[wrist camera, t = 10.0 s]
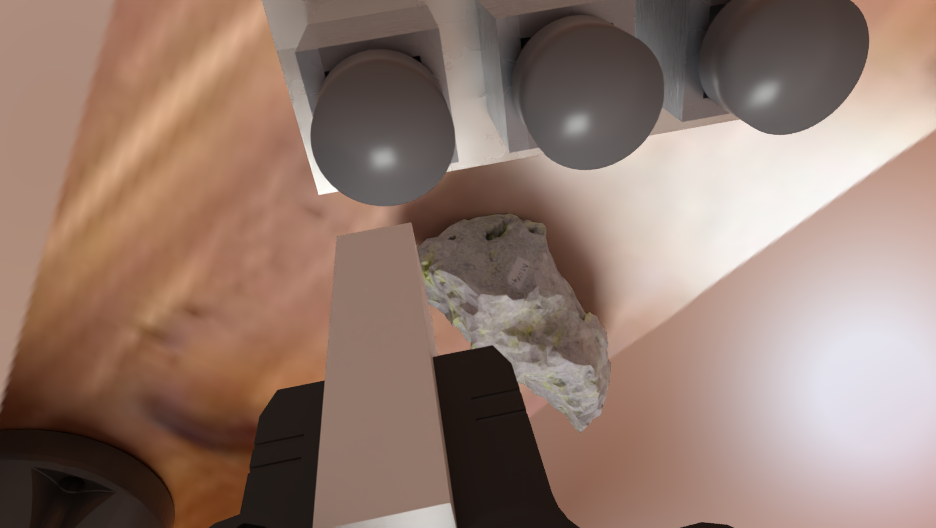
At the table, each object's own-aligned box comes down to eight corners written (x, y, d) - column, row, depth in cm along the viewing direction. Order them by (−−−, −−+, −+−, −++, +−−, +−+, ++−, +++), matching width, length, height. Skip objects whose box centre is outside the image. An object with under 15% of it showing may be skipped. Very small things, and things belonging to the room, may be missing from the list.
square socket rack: (321, 178, 30) (310, 247, 25) (258, -42, 25) (225, -21, 19) (740, 103, 32) (826, 152, 26) (766, -123, 26) (882, -126, 20)
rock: (639, 331, 39) (685, 406, 33) (550, 391, 41) (579, 472, 35) (493, 164, 32) (520, 224, 26) (392, 247, 33) (396, 320, 28)
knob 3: (628, 74, 29) (727, 145, 21) (629, -30, 27) (742, 5, 19) (719, 58, 29) (852, 122, 21) (729, -46, 27) (883, -19, 19)
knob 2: (486, 99, 29) (532, 180, 21) (474, -4, 26) (521, 42, 18) (580, 83, 29) (661, 157, 21) (576, -21, 27) (667, 18, 19)
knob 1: (341, 124, 29) (330, 217, 21) (315, 22, 26) (292, 82, 18) (437, 107, 29) (464, 192, 21) (420, 5, 26) (443, 56, 18)
